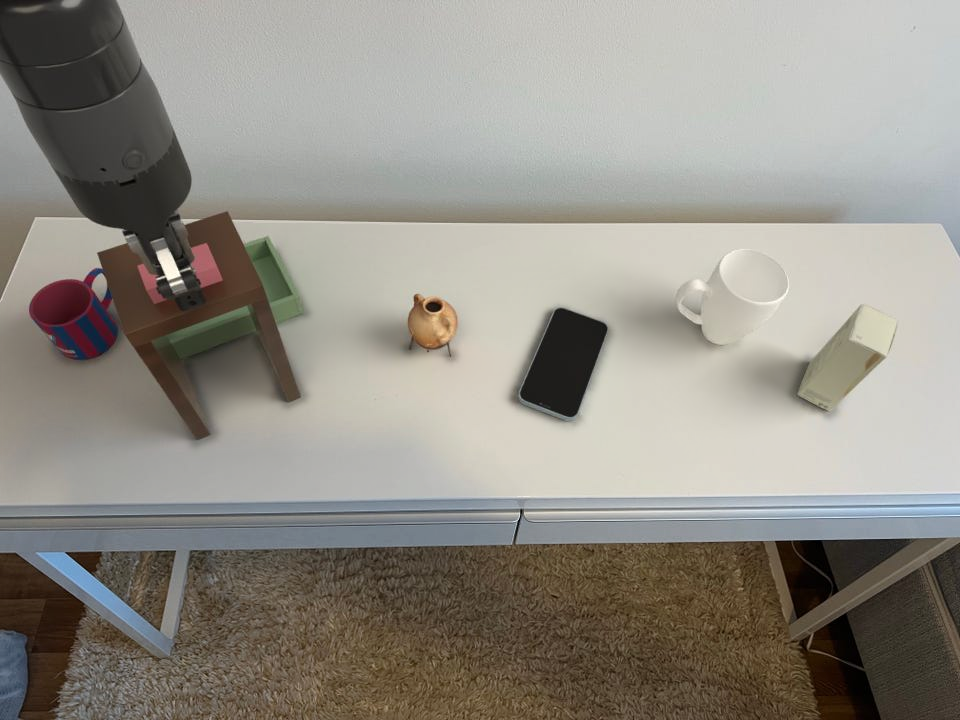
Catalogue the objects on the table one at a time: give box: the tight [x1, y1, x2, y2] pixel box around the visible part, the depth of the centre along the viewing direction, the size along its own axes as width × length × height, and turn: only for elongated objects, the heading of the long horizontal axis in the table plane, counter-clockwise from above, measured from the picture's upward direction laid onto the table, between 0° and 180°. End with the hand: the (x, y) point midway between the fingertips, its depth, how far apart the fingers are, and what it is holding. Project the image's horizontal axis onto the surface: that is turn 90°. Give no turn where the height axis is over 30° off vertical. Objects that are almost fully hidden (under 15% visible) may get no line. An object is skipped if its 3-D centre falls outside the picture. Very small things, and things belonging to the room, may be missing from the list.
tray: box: [166, 235, 304, 360], centre depth 83 cm, size 16×11×4 cm
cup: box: [28, 267, 118, 361], centre depth 78 cm, size 7×10×7 cm
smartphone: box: [517, 306, 610, 422], centre depth 82 cm, size 7×1×15 cm
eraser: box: [137, 243, 222, 304], centre depth 59 cm, size 6×3×2 cm, turn 119°
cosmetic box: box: [797, 302, 900, 412], centre depth 78 cm, size 6×4×12 cm
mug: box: [674, 248, 790, 346], centre depth 82 cm, size 12×8×11 cm
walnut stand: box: [96, 210, 302, 441], centre depth 69 cm, size 12×10×21 cm
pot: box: [407, 293, 459, 358], centre depth 80 cm, size 6×8×6 cm
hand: (192, 301), depth 57 cm, fingers closed
